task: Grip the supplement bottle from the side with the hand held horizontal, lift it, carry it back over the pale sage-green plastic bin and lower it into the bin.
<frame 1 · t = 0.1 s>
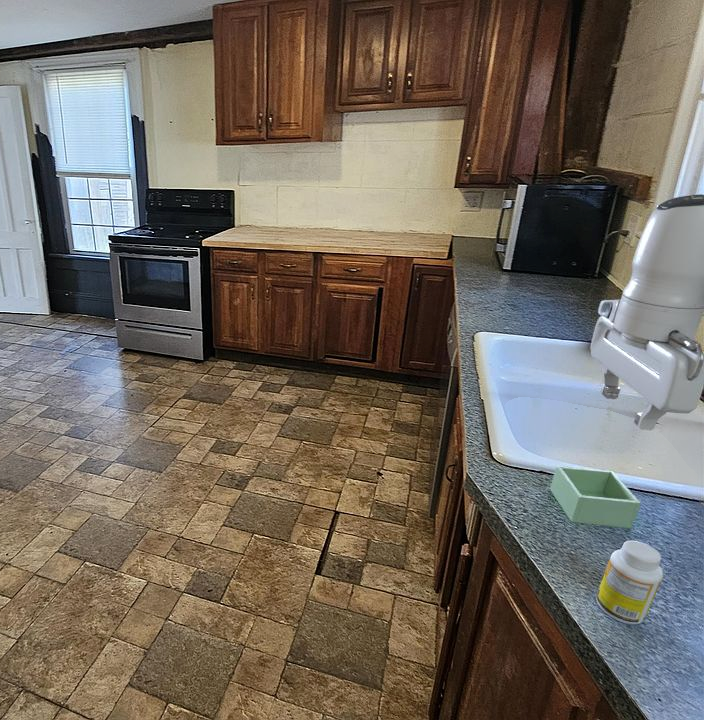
hand: (624, 411, 76), 23 cm above the worktop, tool pointing down, fingers open, 8 cm apart
decorative fruit: (607, 343, 169), on the worktop
supplement bottle: (618, 610, 72), on the worktop
bin: (588, 507, 92), on the worktop
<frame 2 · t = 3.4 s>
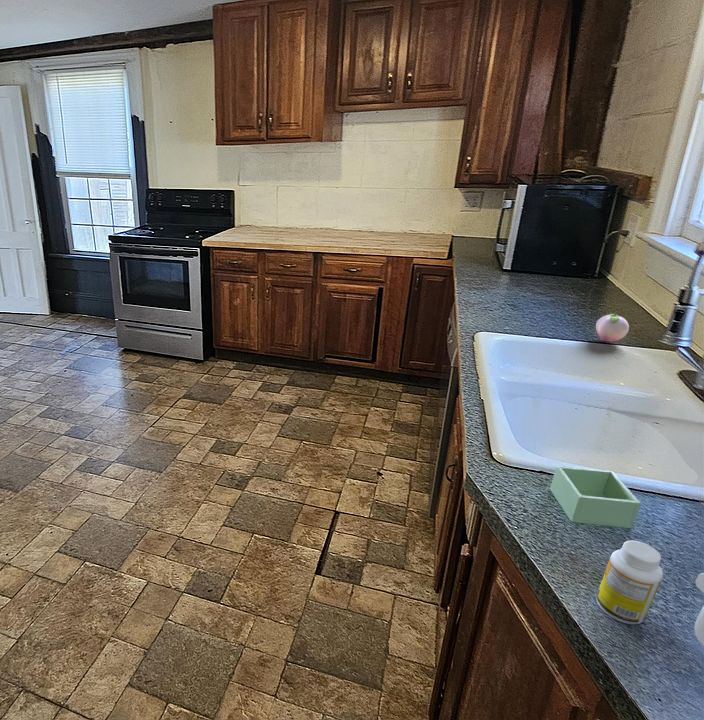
nothing on the worktop moved.
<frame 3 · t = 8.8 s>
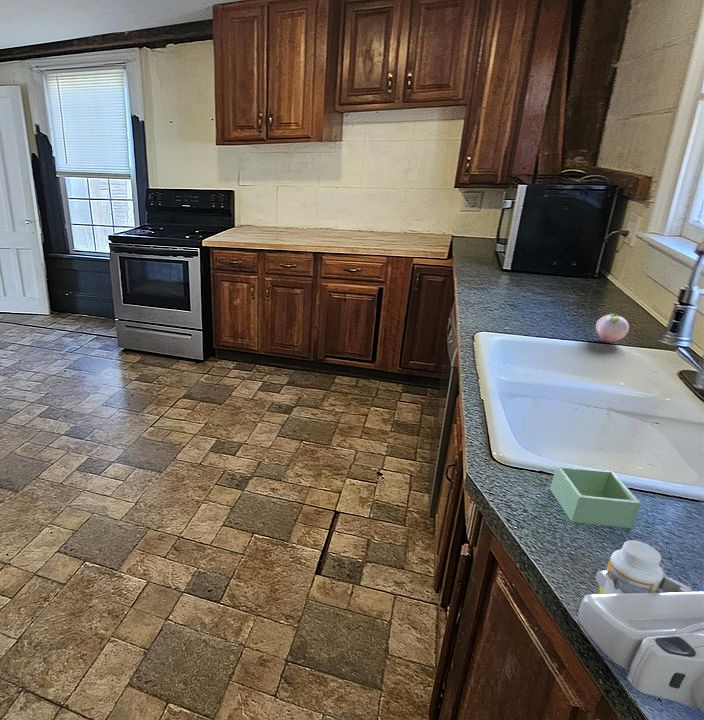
hand: (626, 573, 70), 6 cm above the worktop, tool horizontal, fingers closed on supplement bottle, 5 cm apart
supplement bottle: (618, 610, 72), on the worktop, touching gripper
everything else where it was.
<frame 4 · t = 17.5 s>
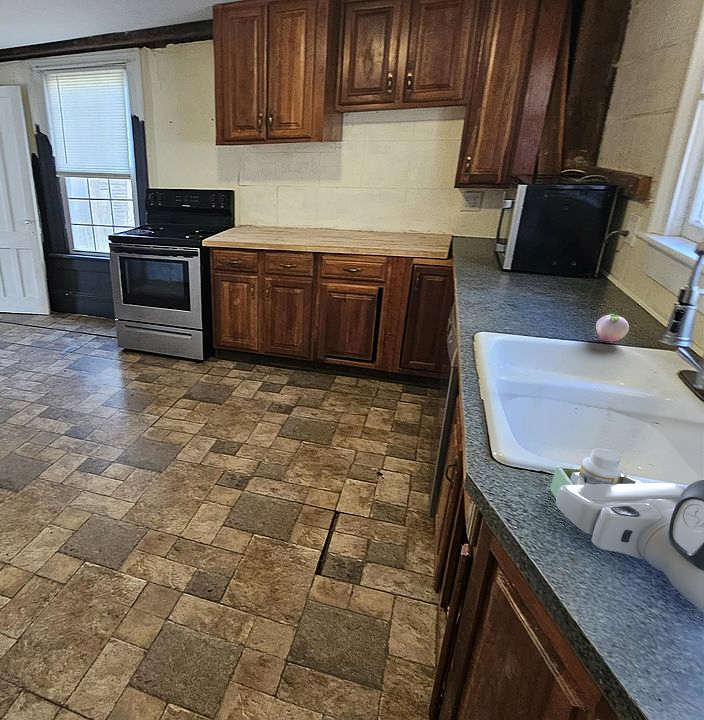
hand: (594, 475, 90), 6 cm above the worktop, tool horizontal, fingers closed on supplement bottle, 5 cm apart
supplement bottle: (588, 505, 92), point 1 cm above the worktop, touching gripper
everything else where it was.
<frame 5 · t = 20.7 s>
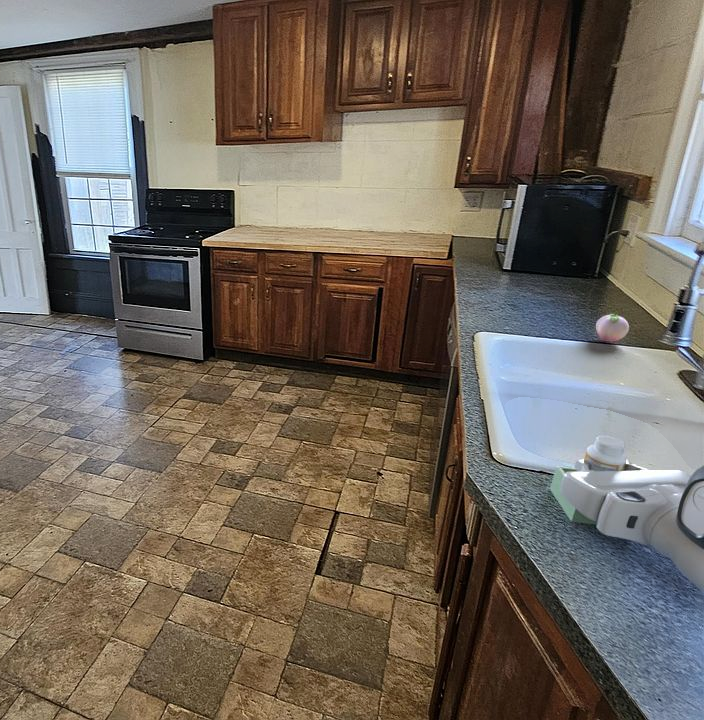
hand: (599, 462, 89), 9 cm above the worktop, tool horizontal, fingers closed on supplement bottle, 5 cm apart
supplement bottle: (593, 493, 91), point 3 cm above the worktop, touching gripper
everything else where it was.
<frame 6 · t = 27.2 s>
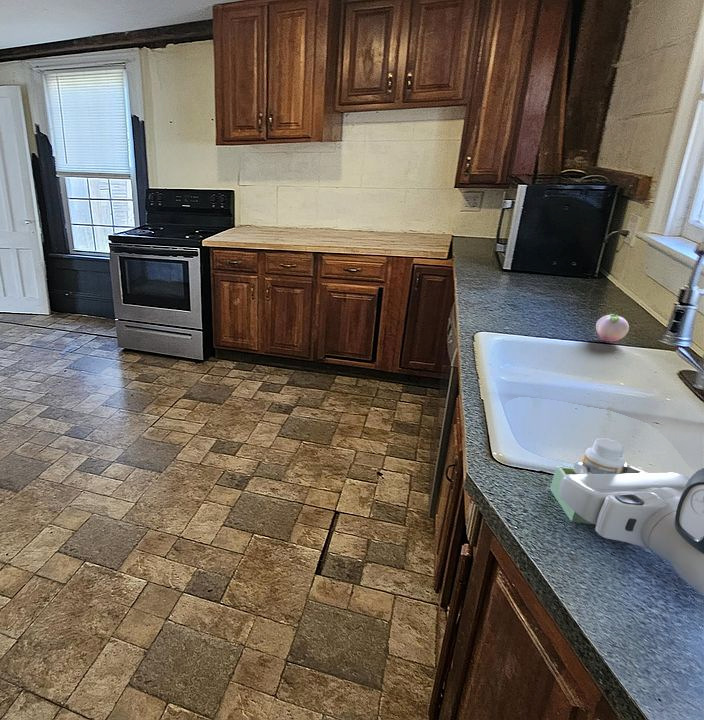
hand: (597, 465, 89), 8 cm above the worktop, tool horizontal, fingers closed on supplement bottle, 5 cm apart
supplement bottle: (592, 496, 91), point 3 cm above the worktop, touching gripper
everything else where it was.
when the fingers open (9 cm above the worktop, at t = 33.1 s): supplement bottle drops 2 cm, resting on bin.
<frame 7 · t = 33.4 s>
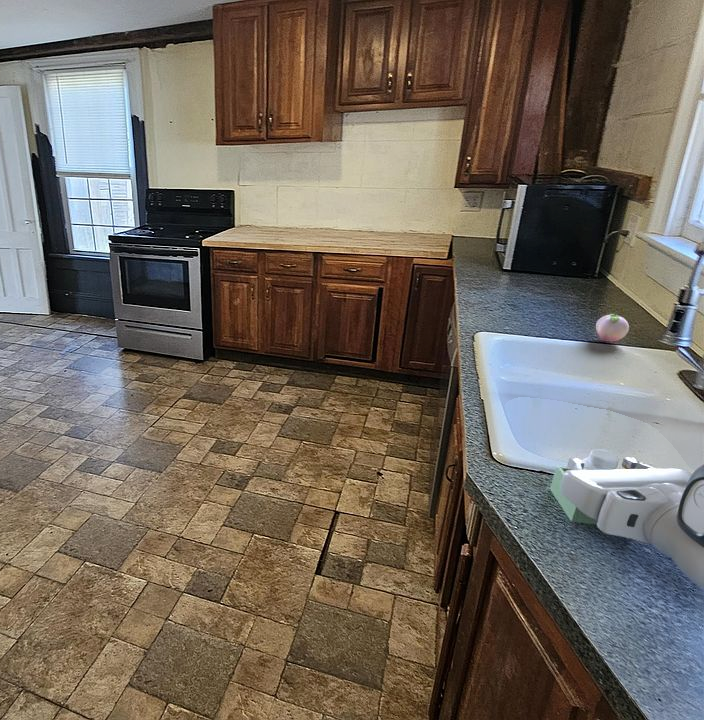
hand: (599, 461, 89), 9 cm above the worktop, tool horizontal, fingers open, 8 cm apart
supplement bottle: (588, 506, 92), resting on bin
everything else where it was.
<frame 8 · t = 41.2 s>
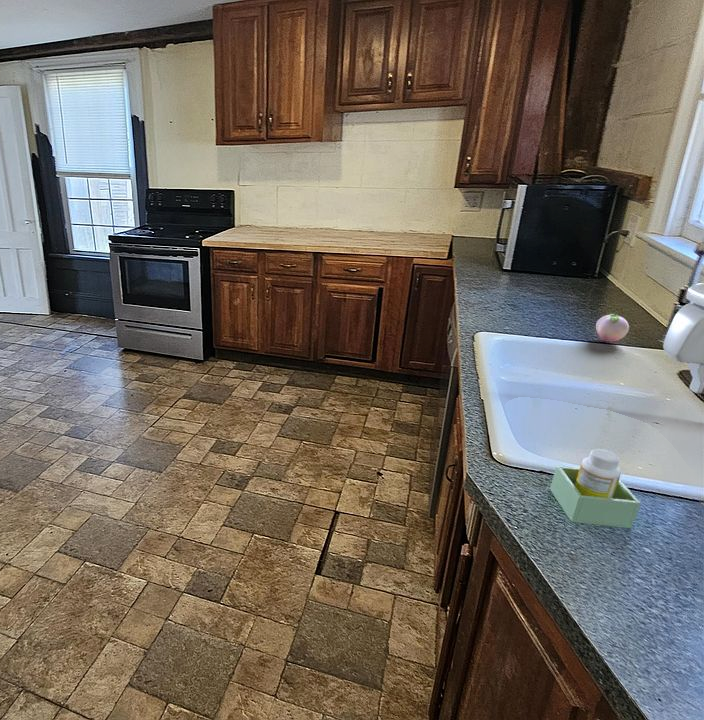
nothing on the worktop moved.
at the end: supplement bottle inside the target area in the bin (0.1 cm from its centre), point 0.4 cm above the bin's base; the gripper is holding nothing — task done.
